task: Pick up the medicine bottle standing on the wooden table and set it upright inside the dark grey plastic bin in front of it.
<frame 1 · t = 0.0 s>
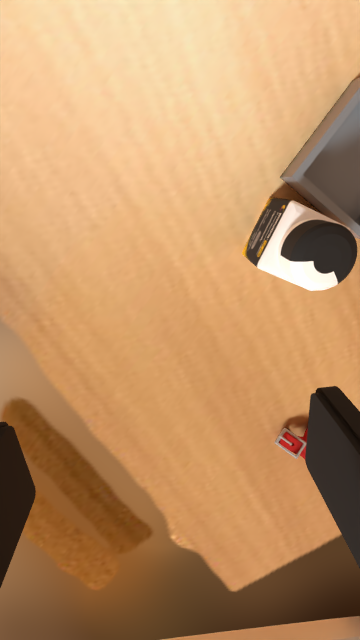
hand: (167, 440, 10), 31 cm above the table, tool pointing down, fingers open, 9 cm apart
medicine bottle: (279, 237, 40), on the table
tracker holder: (310, 432, 52), on the table
bin: (349, 164, 37), on the table
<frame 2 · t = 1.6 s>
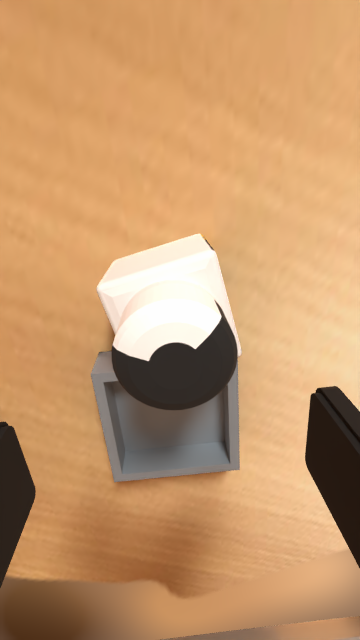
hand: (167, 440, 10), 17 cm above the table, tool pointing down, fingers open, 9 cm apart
medicine bottle: (170, 288, 26), on the table
bin: (170, 399, 30), on the table
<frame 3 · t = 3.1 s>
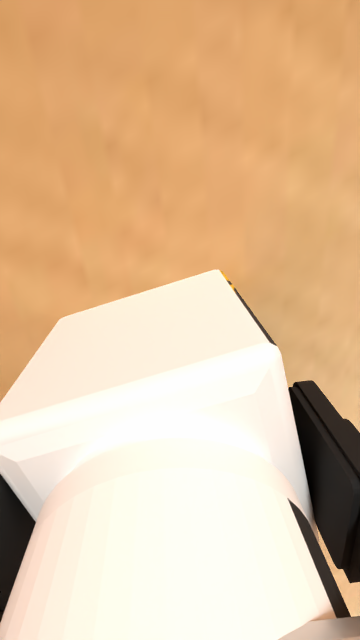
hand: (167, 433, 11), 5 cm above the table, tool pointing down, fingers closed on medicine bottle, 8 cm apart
medicine bottle: (164, 360, 15), on the table, touching gripper
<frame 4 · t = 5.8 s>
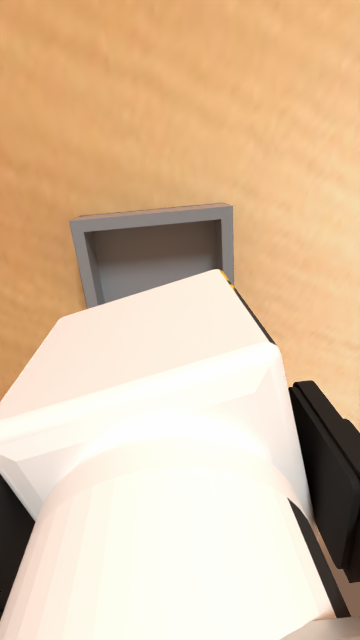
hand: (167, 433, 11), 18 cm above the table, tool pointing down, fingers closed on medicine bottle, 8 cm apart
medicine bottle: (164, 359, 15), point 14 cm above the table, touching gripper
bin: (159, 278, 28), on the table
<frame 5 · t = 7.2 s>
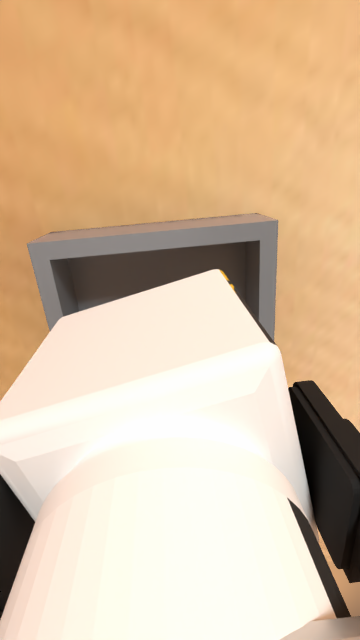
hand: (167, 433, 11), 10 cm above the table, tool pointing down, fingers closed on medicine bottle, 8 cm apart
medicine bottle: (164, 359, 15), point 5 cm above the table, touching gripper
bin: (164, 317, 20), on the table
when the fingers open (7 cm above the table, at t = 8.5 s): medicine bottle drops 1 cm, resting on bin.
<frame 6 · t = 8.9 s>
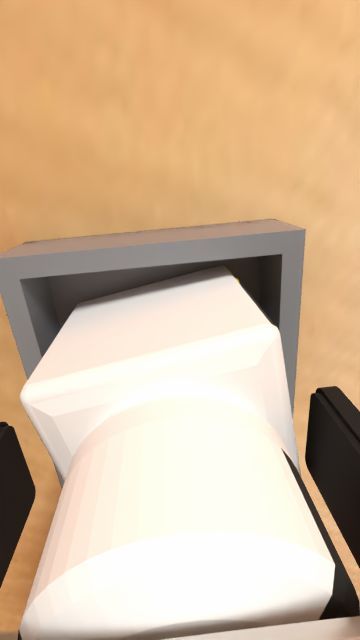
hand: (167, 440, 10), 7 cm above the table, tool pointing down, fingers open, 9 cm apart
medicine bottle: (170, 347, 16), point 1 cm above the table, touching bin
bin: (163, 340, 17), on the table
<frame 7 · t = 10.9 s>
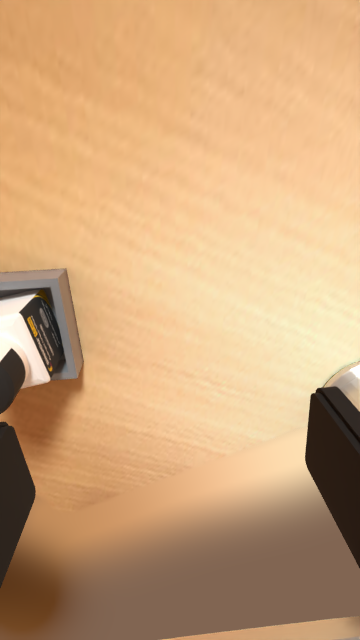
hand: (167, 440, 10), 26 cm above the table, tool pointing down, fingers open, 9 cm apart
medicine bottle: (24, 324, 35), point 1 cm above the table, touching bin
bin: (23, 321, 36), on the table
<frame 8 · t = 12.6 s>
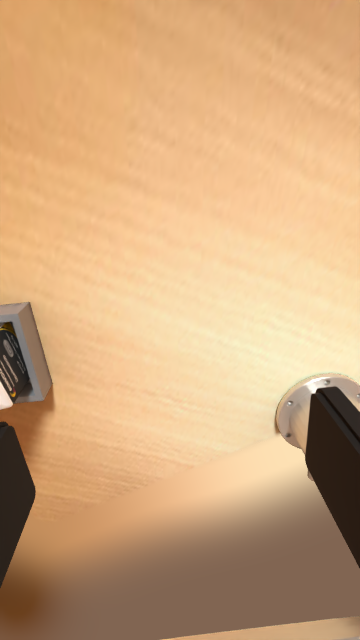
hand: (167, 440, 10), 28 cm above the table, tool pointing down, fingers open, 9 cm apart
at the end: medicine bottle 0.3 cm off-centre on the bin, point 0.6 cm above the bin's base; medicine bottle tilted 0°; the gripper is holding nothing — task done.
